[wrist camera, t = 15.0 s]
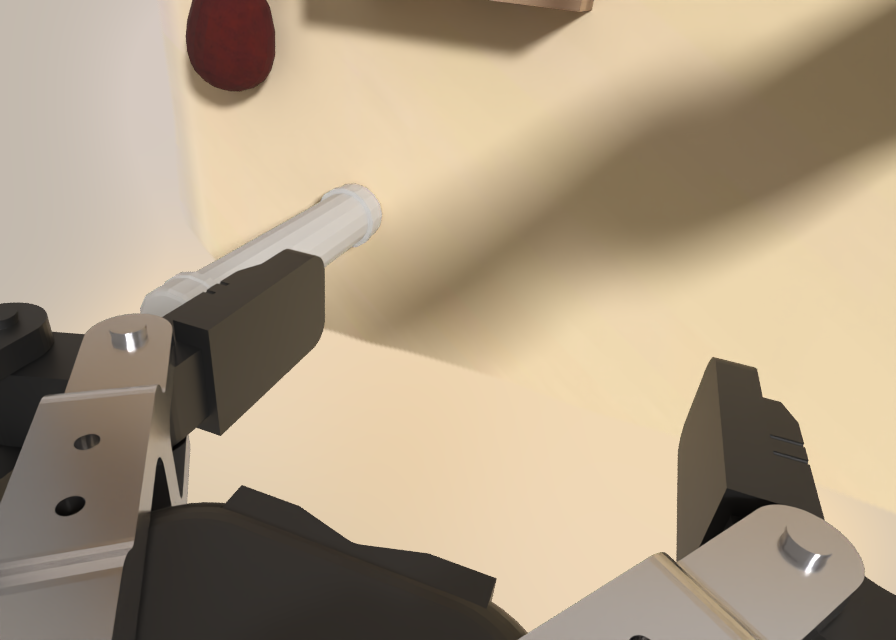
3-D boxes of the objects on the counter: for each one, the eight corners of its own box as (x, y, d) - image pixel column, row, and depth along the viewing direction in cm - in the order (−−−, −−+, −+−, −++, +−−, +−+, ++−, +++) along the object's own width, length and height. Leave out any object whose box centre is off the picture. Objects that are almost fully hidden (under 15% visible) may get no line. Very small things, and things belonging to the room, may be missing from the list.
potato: (203, 51, 54) (155, 57, 49) (238, -46, 49) (187, -51, 44) (269, 105, 54) (227, 116, 49) (310, 13, 49) (268, 15, 44)
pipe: (396, 215, 55) (157, 398, 30) (354, 253, 58) (108, 445, 33) (356, 168, 54) (75, 315, 29) (316, 209, 57) (33, 372, 32)
